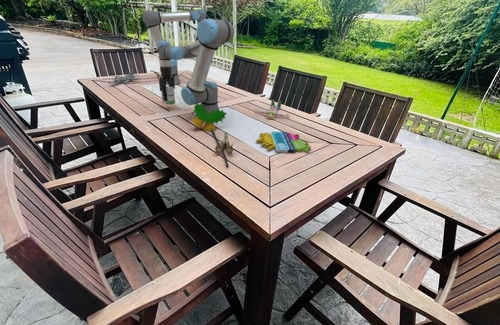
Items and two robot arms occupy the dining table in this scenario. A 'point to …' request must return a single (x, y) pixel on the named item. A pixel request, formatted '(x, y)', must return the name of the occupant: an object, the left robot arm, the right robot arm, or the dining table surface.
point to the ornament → (207, 117)
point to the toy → (272, 110)
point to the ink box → (169, 96)
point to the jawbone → (224, 145)
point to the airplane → (124, 78)
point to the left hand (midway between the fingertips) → (202, 50)
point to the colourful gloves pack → (283, 142)
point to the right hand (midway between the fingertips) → (168, 99)
